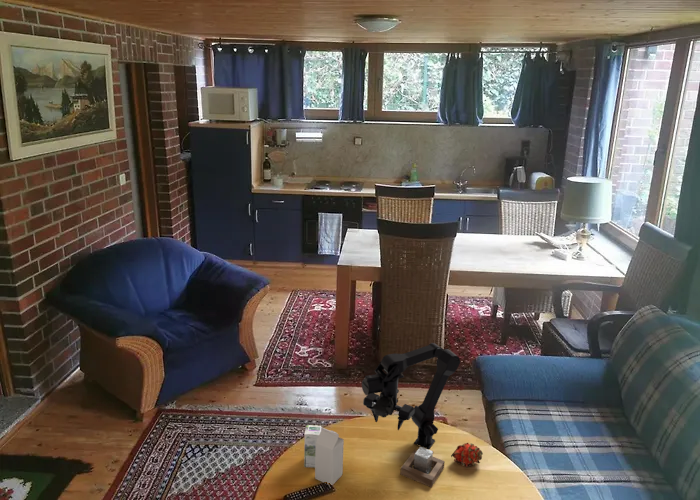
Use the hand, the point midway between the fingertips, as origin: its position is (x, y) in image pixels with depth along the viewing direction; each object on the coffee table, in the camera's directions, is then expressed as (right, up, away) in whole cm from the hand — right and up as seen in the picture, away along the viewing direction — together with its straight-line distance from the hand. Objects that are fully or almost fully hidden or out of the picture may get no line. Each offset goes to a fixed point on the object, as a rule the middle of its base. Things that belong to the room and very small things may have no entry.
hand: (387, 425), depth 206 cm
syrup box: (-28, -13, -3) cm, 31 cm away
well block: (+12, -15, -6) cm, 20 cm away
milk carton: (-22, -15, -10) cm, 28 cm away
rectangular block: (+12, -15, -6) cm, 20 cm away
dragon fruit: (+29, -14, -1) cm, 32 cm away
